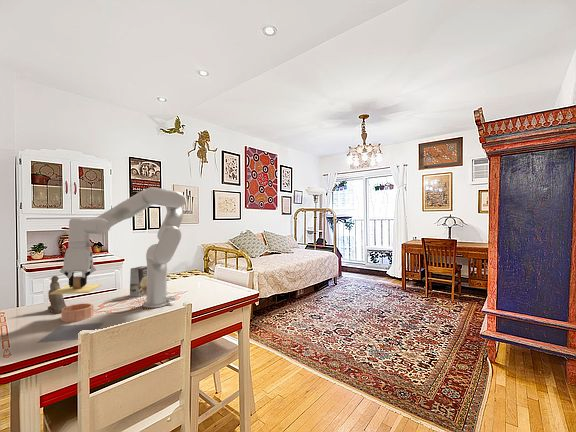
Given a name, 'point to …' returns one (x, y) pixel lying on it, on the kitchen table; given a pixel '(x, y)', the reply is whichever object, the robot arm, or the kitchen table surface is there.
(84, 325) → the mat
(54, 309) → the worn brown figurine
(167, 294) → the robot arm
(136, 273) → the coffee box
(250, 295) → the kitchen table surface
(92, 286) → the sheet
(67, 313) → the bowl
